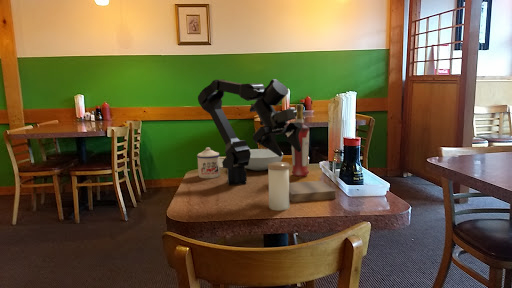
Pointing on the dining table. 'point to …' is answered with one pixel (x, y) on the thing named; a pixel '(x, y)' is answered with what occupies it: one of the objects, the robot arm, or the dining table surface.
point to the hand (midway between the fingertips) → (291, 153)
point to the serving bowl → (262, 159)
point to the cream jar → (278, 185)
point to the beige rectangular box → (310, 191)
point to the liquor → (301, 157)
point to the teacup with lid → (209, 164)
